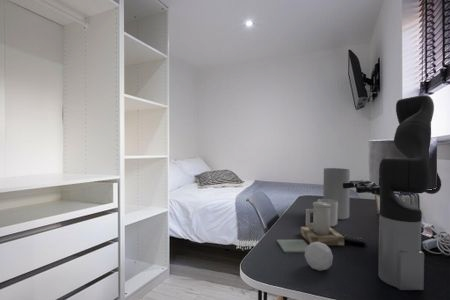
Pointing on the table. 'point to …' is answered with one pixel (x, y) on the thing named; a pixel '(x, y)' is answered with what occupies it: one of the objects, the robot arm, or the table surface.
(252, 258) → the table surface
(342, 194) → the cylinder vase
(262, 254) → the table surface
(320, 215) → the jug
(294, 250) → the mat
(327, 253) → the geometric ball
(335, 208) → the mug
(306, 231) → the stand
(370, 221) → the table surface
